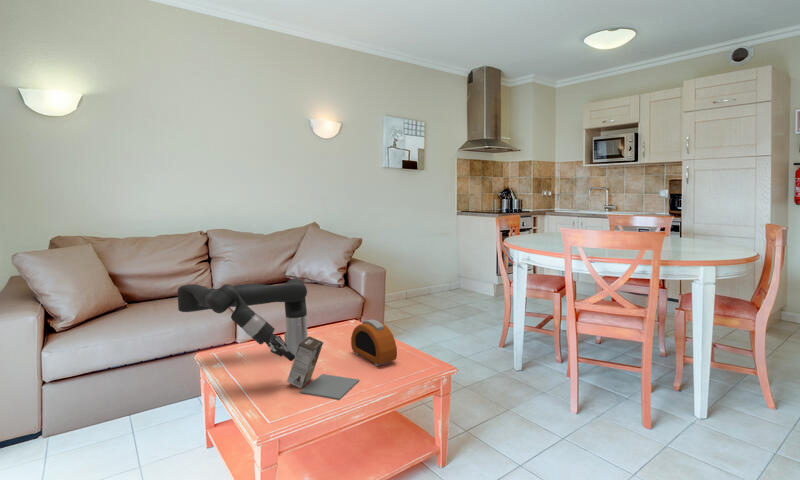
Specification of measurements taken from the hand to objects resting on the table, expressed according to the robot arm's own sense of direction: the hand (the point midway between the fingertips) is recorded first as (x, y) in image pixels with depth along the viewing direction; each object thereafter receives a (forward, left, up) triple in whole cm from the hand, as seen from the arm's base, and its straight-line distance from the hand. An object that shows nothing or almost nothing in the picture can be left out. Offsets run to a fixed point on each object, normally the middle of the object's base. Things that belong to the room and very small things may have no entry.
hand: (293, 358), depth 162 cm
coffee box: (+1, +2, -9) cm, 9 cm away
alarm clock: (+18, +34, -10) cm, 39 cm away
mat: (+14, +3, -10) cm, 17 cm away
